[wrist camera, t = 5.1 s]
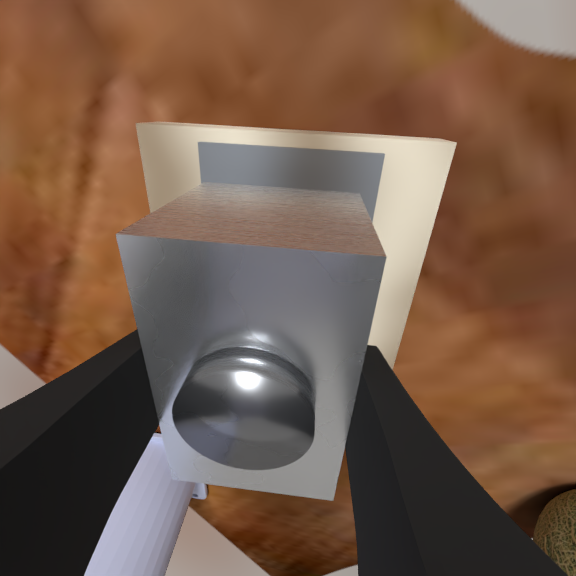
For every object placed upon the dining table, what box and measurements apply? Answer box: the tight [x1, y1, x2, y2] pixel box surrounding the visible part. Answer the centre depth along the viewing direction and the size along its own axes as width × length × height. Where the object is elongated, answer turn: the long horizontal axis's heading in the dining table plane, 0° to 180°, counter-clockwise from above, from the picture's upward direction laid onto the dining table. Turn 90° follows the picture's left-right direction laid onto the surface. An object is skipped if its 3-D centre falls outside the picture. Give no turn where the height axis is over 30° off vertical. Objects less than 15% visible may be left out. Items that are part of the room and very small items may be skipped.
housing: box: [116, 182, 387, 501], centre depth 10 cm, size 5×8×6 cm, turn 177°
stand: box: [136, 122, 457, 370], centre depth 15 cm, size 12×11×2 cm
